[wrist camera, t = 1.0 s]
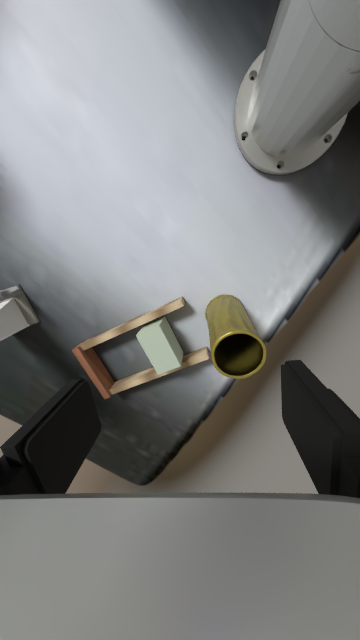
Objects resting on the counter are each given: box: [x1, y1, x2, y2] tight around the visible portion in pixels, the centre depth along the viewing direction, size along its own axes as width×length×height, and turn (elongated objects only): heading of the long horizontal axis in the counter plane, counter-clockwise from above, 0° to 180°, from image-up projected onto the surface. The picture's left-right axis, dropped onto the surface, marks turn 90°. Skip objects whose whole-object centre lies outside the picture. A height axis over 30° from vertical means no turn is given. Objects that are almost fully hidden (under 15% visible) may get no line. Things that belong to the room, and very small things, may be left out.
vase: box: [206, 295, 266, 379], centre depth 27 cm, size 6×6×14 cm
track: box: [72, 297, 209, 399], centre depth 36 cm, size 20×10×3 cm, turn 116°
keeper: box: [136, 316, 184, 375], centre depth 34 cm, size 4×7×4 cm, turn 26°
